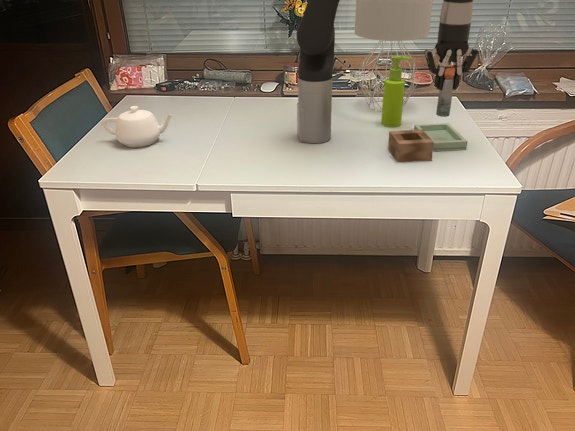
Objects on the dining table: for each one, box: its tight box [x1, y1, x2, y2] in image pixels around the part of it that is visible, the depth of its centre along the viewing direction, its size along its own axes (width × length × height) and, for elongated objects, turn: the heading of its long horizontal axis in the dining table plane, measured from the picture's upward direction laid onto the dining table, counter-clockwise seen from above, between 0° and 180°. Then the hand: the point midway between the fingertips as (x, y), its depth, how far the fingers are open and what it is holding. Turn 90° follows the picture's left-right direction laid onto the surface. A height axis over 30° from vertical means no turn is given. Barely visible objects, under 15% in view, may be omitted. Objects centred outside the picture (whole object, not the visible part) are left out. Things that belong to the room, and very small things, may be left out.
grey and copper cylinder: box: [435, 64, 456, 118], centre depth 141 cm, size 4×4×13 cm
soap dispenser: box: [380, 55, 412, 128], centre depth 156 cm, size 6×7×20 cm
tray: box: [413, 122, 468, 153], centre depth 148 cm, size 10×14×2 cm
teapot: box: [101, 105, 174, 148], centre depth 149 cm, size 20×12×10 cm, turn 90°
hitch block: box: [387, 129, 434, 163], centre depth 139 cm, size 9×9×5 cm
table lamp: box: [354, 0, 434, 112], centre depth 165 cm, size 22×22×40 cm
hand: (446, 88), depth 141 cm, fingers closed on grey and copper cylinder, 3 cm apart
